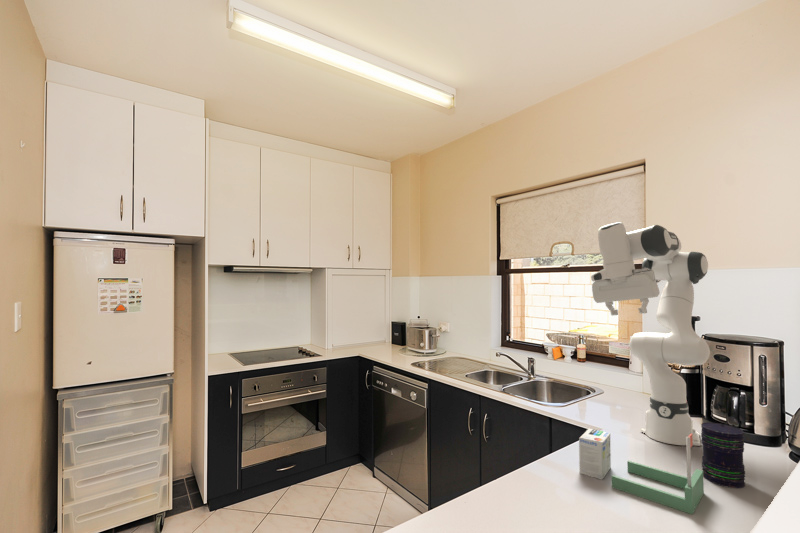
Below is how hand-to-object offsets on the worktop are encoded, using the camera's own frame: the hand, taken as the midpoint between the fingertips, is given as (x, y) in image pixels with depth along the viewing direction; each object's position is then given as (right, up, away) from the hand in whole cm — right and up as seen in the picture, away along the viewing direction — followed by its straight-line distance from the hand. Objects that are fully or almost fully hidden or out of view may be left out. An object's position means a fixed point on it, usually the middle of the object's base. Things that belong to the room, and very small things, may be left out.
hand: (628, 314), depth 129 cm
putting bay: (-3, -46, -18) cm, 50 cm away
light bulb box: (-14, -47, -7) cm, 50 cm away
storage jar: (+21, -47, -12) cm, 53 cm away
